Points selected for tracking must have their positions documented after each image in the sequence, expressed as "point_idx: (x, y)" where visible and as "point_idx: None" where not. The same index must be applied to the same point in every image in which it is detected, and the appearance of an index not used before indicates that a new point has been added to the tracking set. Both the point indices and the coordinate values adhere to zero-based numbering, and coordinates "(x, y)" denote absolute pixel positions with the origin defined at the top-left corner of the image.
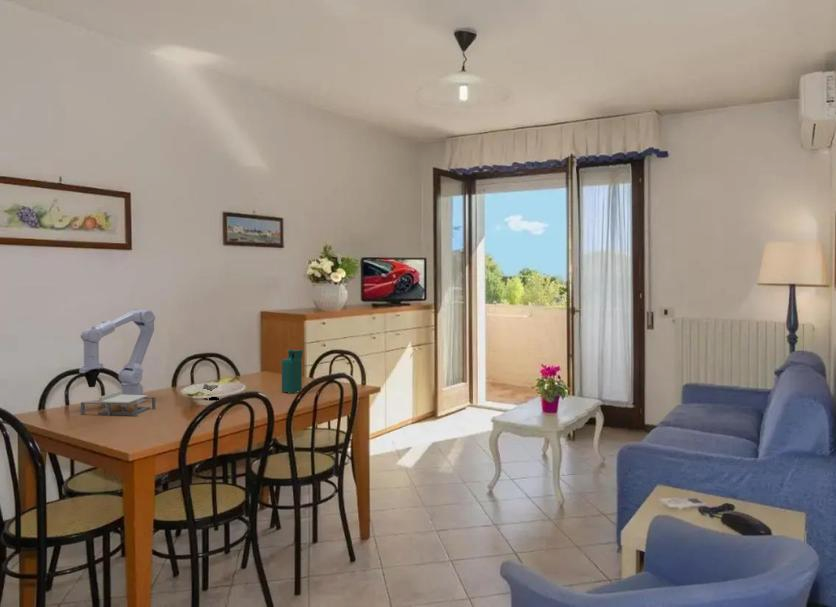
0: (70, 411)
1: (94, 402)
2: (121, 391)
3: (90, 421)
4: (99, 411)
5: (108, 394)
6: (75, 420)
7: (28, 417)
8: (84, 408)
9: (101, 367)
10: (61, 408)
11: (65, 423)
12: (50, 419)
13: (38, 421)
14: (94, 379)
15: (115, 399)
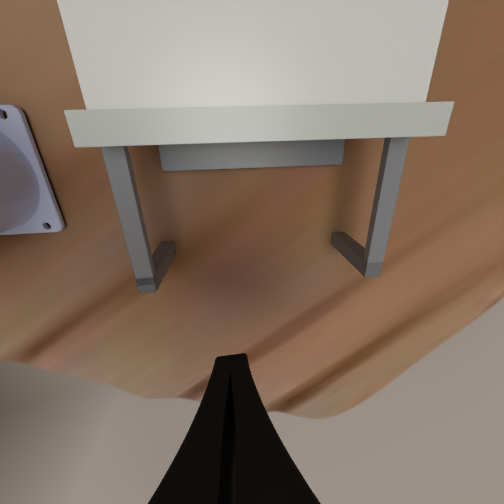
0: (263, 336)
1: (381, 190)
2: (83, 111)
3: (477, 103)
4: (330, 161)
5: (295, 137)
6: (439, 202)
7: (367, 388)
8: (350, 246)
9: None
10: None
11: (494, 206)
12: (405, 311)
13: (434, 326)
14: (253, 427)
15: (345, 5)
